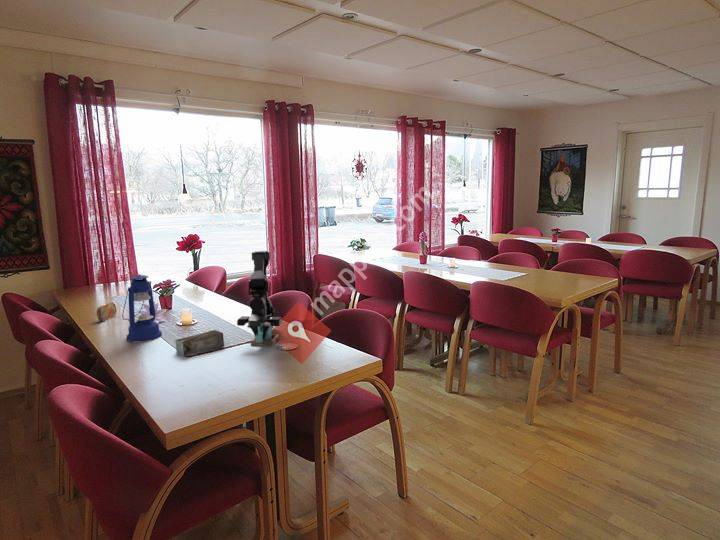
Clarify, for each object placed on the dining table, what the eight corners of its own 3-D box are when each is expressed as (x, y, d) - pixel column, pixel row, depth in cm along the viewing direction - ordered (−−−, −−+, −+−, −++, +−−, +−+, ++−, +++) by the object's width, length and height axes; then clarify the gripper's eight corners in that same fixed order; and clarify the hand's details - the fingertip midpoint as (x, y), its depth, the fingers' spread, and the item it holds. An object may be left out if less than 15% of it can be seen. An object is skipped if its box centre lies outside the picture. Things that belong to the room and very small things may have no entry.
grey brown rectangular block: (175, 352, 197) (174, 338, 196) (216, 342, 210) (215, 328, 209) (183, 357, 191) (182, 342, 190) (225, 346, 205) (224, 331, 204)
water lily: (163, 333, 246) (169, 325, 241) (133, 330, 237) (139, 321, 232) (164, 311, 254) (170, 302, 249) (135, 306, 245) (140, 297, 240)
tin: (102, 322, 243) (100, 307, 242) (96, 322, 243) (94, 307, 242) (117, 315, 258) (116, 300, 256) (112, 315, 258) (110, 300, 257)
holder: (257, 338, 215) (257, 334, 214) (278, 338, 214) (278, 334, 214) (251, 345, 205) (250, 340, 205) (272, 345, 204) (272, 341, 204)
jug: (260, 339, 213) (259, 319, 211) (273, 339, 212) (272, 319, 211) (252, 348, 201) (251, 327, 199) (265, 348, 200) (264, 327, 198)
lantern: (146, 343, 209) (141, 278, 204) (117, 341, 212) (111, 277, 207) (169, 332, 225) (164, 272, 220) (142, 330, 228) (136, 271, 224)
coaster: (279, 343, 206) (279, 342, 206) (299, 344, 206) (299, 343, 205) (274, 350, 197) (274, 349, 197) (295, 351, 197) (295, 350, 197)
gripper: (231, 310, 193) (233, 345, 196) (275, 310, 191) (276, 346, 194) (240, 303, 204) (242, 337, 207) (281, 304, 202) (283, 338, 205)
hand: (260, 340), depth 203 cm, fingers closed on jug, 3 cm apart
